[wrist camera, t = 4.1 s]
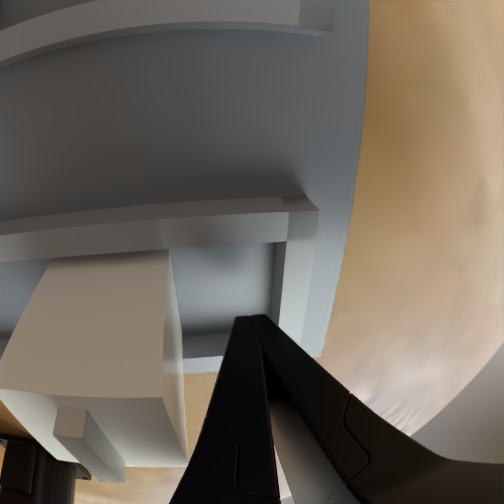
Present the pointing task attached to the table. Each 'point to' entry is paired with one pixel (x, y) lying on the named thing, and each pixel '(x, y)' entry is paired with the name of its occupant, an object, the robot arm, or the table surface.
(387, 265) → the table surface
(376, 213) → the table surface
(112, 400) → the white rectangular block
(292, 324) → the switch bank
